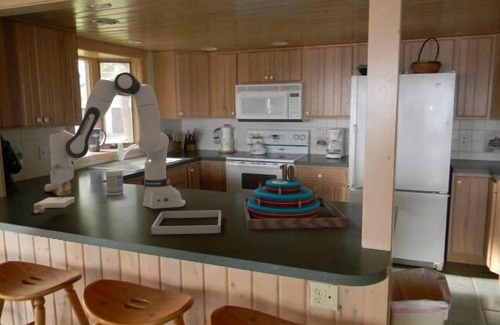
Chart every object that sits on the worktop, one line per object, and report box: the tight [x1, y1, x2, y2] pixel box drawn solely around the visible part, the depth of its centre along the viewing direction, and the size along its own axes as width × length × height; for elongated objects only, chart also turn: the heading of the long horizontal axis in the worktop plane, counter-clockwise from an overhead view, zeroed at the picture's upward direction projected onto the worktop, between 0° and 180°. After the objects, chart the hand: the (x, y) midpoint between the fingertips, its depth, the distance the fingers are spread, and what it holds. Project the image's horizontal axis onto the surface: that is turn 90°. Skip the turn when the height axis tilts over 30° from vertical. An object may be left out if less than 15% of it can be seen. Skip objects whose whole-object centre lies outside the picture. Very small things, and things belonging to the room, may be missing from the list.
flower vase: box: [44, 179, 73, 197], centre depth 235 cm, size 12×12×35 cm
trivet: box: [37, 196, 76, 209], centre depth 211 cm, size 14×14×2 cm
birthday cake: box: [247, 162, 321, 219], centre depth 189 cm, size 35×35×24 cm
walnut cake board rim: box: [242, 196, 349, 230], centre depth 188 cm, size 43×43×4 cm
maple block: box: [33, 202, 46, 214], centre depth 196 cm, size 4×4×4 cm
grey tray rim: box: [150, 210, 222, 235], centre depth 172 cm, size 28×26×3 cm
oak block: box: [55, 182, 72, 196], centre depth 198 cm, size 5×5×5 cm
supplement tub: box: [105, 169, 124, 196], centre depth 238 cm, size 10×10×15 cm
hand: (63, 190), depth 198 cm, fingers closed on oak block, 5 cm apart
